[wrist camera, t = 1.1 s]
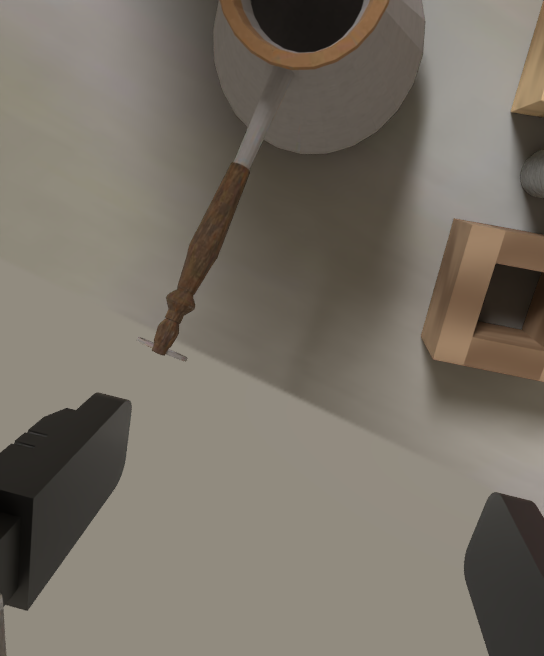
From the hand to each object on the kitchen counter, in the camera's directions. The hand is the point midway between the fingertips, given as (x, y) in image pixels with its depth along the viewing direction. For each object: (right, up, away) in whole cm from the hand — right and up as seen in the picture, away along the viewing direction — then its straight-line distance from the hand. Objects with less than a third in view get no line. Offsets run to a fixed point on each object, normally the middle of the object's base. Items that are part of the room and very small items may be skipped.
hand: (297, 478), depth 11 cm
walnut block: (+14, +6, +21) cm, 26 cm away
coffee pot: (0, +15, +20) cm, 25 cm away
